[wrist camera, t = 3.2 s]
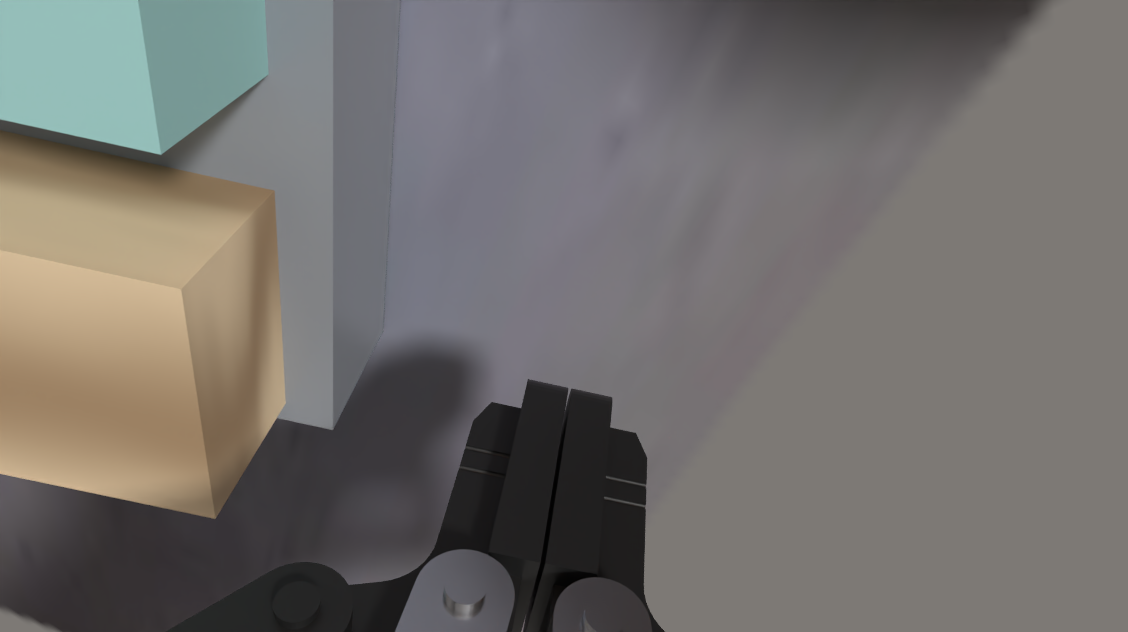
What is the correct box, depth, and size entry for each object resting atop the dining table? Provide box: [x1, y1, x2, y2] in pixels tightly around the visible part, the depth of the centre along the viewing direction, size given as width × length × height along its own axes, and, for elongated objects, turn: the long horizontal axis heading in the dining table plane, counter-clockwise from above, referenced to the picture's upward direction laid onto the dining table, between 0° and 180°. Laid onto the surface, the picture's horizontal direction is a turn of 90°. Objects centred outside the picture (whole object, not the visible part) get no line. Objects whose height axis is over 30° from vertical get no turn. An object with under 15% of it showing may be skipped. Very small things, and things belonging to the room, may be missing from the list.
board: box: [0, 0, 401, 430], centre depth 13 cm, size 13×13×4 cm
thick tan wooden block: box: [0, 130, 286, 519], centre depth 13 cm, size 5×5×3 cm
